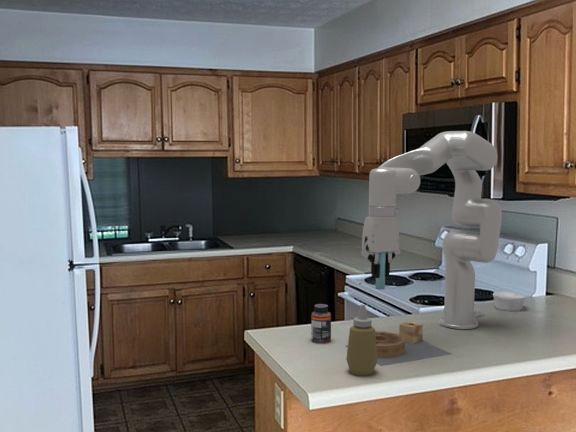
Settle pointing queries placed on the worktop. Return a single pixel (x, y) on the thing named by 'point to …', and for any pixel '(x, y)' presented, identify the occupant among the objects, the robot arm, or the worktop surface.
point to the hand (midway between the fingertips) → (380, 276)
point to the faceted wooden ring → (389, 344)
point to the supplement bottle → (321, 324)
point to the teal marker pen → (381, 272)
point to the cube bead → (411, 332)
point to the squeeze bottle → (362, 345)
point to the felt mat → (414, 353)
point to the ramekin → (508, 300)
